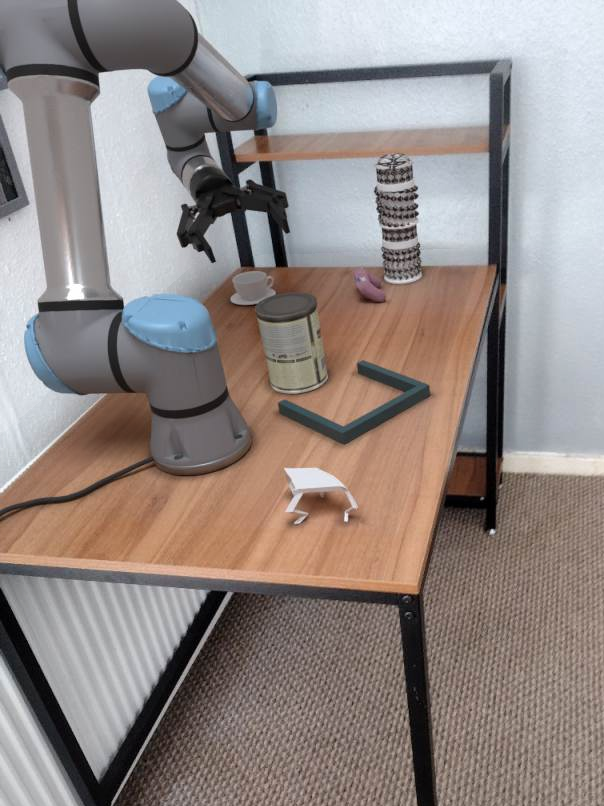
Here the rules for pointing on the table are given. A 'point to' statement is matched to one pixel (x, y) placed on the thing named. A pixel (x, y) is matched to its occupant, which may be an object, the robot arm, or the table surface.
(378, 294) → the video game controller
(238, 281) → the teacup
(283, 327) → the coffee can
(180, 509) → the table surface
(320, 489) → the origami figure
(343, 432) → the teal u-shaped frame
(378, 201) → the decorative candle
